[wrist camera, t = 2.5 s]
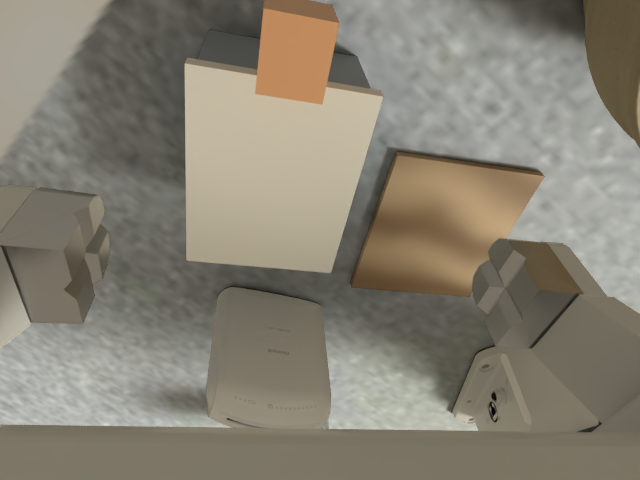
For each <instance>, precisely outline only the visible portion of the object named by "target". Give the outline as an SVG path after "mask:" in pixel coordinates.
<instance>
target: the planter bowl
mask: <svg viewBox="0 0 640 480" xmlns="http://www.w3.org/2000/svg"><path fill="white" fill-rule="evenodd" d="M583 9H584V16H585V45H586V53H587V59H588V64H589V68H590V72H591V75H592V79H593V81H594V84H595V87H596V89H597V92H598V94H599V96H600V98H601V99H602V101H603V103H604V105H605V106H606V108H607V109H608V111H609V112H610V114H611V115H612V116H613V118H614V119H615V120H616V122H617V123H618V124H619V125H620V126H621V127H622V129H623V130H624V131H625V132H626V133H627V134H628V135H629V136H630V137H631V138H633V139H634V140H635V141H636V143H637V145H638V146H639V148H640V0H583Z"/></svg>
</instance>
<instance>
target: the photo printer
mask: <svg viewBox="0 0 640 480" xmlns="http://www.w3.org/2000/svg"><path fill="white" fill-rule="evenodd" d="M206 398H207V402H208V417H210V418H212V419H214V420H215V421H217V422H220V423H222V424H224V425H227V426H230V427H233V428H285V429H321V428H323V425H324V423H326V422H327V421H328V418H329V414H330V407H331V388H330V379H329V370H328V361H327V352H326V343H325V334H324V325H323V317H322V310H321V306H320V305H319V304H317V303H314V302H311V301H306V300H302V299H298V298H293V297H288V296H283V295H278V294H273V293H268V292H262V291H257V290H251V289H244V288H237V287H229V288H227V289H225V290H223V291H222V292H221V293H220V294H219V296H218V298H217V305H216V313H215V321H214V329H213V337H212V345H211V353H210V361H209V370H208V378H207V386H206Z"/></svg>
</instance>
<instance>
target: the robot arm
mask: <svg viewBox="0 0 640 480" xmlns="http://www.w3.org/2000/svg"><path fill="white" fill-rule="evenodd" d="M104 214H105V210H104V205H103V200H102V198H101V197H100V196H99V195H95V194H87V193H79V192H72V191H64V190H56V189H48V188H37V187H30V186H21V185H13V184H8V185H5V186H2V187H1V188H0V349H1V348H2V347H4V346H5V345H6V344H7V343H9V342H10V341H11V340H12V339H14V338H15V337H16V336H18V335H19V334H20V333H21V332H23V331H24V330H25V329H27V328H28V327H29V326H30V325H31V323H30V322H36V323H70V324H83V322H84V320H85V318H86V315H87V313H88V311H89V308H90V306H91V304H92V301H93V299H94V297H95V294H94V289H93V284H94V283H96V282H97V281H99V280H100V279H102V278H103V275H104V273H105V270H106V268H107V263H108V258H109V253H110V241H109V234H108V231H107V230H106V229H105V228H104V227H103V226H102V225H101V224H100V223H101V221H102V219H103V217H104ZM488 254H489V260H487V261H486V262H484V263H483V264H481V265H479V267H478V269H477V270H476V272H475V274H474V276H473V281H472V293H473V298H474V300H475V302H476V305H477V306H478V307H479V308H480V309H481V310H483V311H484V312H485V313H486V314H487V315H486V318H485V321H484V322H485V324H486V326H487V329H488V331H489V333H490V335H491V337H492V339H493V342H494V344H495V347H492V348H488V349H485V350H483V351H481V352H479V353H478V354H477V355H476V356H475V358H474V361H473V363H472V365H471V368H470V370H469V373H468V375H467V377H466V380H465V382H464V385H463V387H462V389H461V392H460V394H459V396H458V399H457V401H456V404H455V406H454V409H453V415H454V417H455V418H456V419H457V420H459V421H461V422H464V423H468V424H474V425H476V426H477V428H478V431H442V430H364V429H285V428H208V427H135V426H61V425H0V480H640V314H639V313H637V312H636V311H634V310H632V309H631V308H629V307H628V306H626V305H625V304H623V303H622V302H620V301H619V300H617V299H616V298H614V297H607V295H606V294H605V293H604V292H603V290H602V289H601V288H600V286H599V285H598V284H597V283H596V281H595V280H594V279H593V277H592V276H591V275H590V274H589V272H588V271H587V270H586V268H585V267H584V266H583V265H582V263H581V262H580V261H579V259H578V258H577V257H576V256H575V254H574V253H573V252H572V250H571V249H570V248H569V247H568V246H566V245H564V244H562V243H553V242H533V241H523V240H513V239H503V238H499V239H498V240H496V241H495V242H494V243H493V244H492V245H491V247H490V249H489V250H488Z"/></svg>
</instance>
